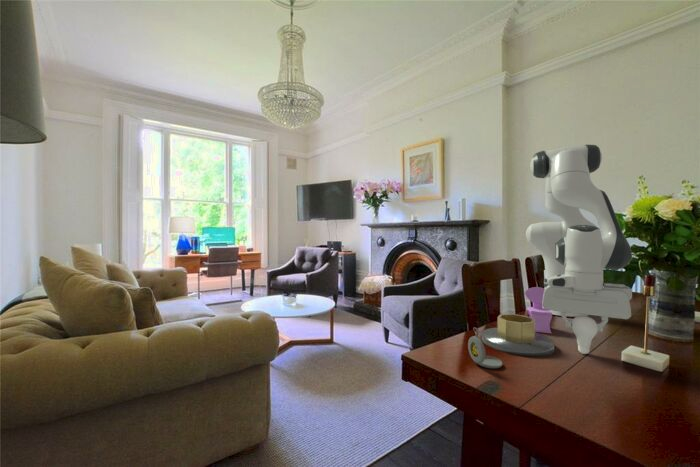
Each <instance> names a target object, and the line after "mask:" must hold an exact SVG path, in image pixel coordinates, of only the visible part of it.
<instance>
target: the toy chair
mask: <svg viewBox="0 0 700 467" xmlns="http://www.w3.org/2000/svg"><path fill="white" fill-rule="evenodd" d="M544 288H545V287H544ZM544 288H543V287H540V286H534V287H530V288H528V289H526V290H525V291H524V296H525V298H527V300H529V301H530V302H531V303H532V306H527V307H526V308H527V309H526V310H527V311H526V312H527V313H528V317H530V318H533V319H535V333H544V334H552V331H551V328H550V327H551V326H550V324H551V321H552V318H553V314H552V312H551V311H549V310H546V309H544V308H542V301H543V294H544V290H545V289H544Z"/></svg>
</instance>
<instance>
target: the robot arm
mask: <svg viewBox="0 0 700 467" xmlns="http://www.w3.org/2000/svg"><path fill="white" fill-rule="evenodd" d="M602 160H603V155H602V152H601V149H600V147H599V146H598V145H597V144H585V145H569V146H564V147H559V148H553V149H549V150H541V151H539V152H536V153H534V155H533V156H532V158H531V161H530V164H529V166H530V167H529V168H530V172H531V173H532V175H533V176H534V177H535V178H538V179H545V185H544V186H545V187H544V188H545V189H544V190H545V192H544V193H545V196H544V197H545V198H544V201H545V202H544V204H545V209H546V210H547V212H549V213H550V214H553V215H555V216H558V217H560V218H561V219H562V221H541V222H535V223H531V224H530V225H529V226H528V227H527V228H526V231H525V239H526V240H527V242H528V243H529V244H530V245H531V246H533V247H534V248H535V249H536V250H537V251H538V253H540V255H541V256H542V259H543V262H544V264H543V265H544V274H545V275H544V278H543V286H544V289H545V290H544V294H543V301H542V308H544V309H546V310H549V311H551V312H552V316H553V315H555V316H560V317H562V319H563V321H564V322H565V324H564V325H565V326H564V327H565V328H570V329H572V326H571V323H572V320H569V319H568V318H567V317H570V318H571V317H572V318H573V317H574V318H575V317H577V316H588V317H589V316H595V317H596V316H597V317H598V316H599V317H600V319H601V322H600V323H599V324H598V323H597V328H598V331H597V333H603V332H604V327H605V325H606V324H607V323H608V322H609V318H611V319H612V318H613V319H621V320H628V319H630V318H631V317H632V308H631V304H630V301H631V300H632V299H633V291H632V289H631V287H629V286H627V285H626V284H624V283H623V284H622V283H611V282H604V270H611V271H618V270H621V269H624V267H626V266H627V265H629V264H630V263H631V261H632V259H633V258H632V257H633V256H632V253H633V252H632V249H631V248H632V247H631V245H630V243H629V241H628V240H627V238H626V236H625V235H624V233H623V232H624V231H623V230H622V228H621V226H620V223H619V221H618V218H617V216H616V213H615V210H614V208H613V205H612V203H611V201H610V199H609V197H608V195H607V194H606V192H605V191H603V190H602V189H599V188H598V187H597V186H596V185H595V184H594V183H593V182H592V179H591V175H590V174H592V173H593V172H596V171H597V170H598V169H599V168H600V166H601V163H602ZM580 209H581V210H584V211H586V212H589V213H591V214H592V215H593V216H595V218H596V220H597V224H598V226H599V227H598V226H597V225H595V223H593V222H591V221H590V220H589V219H587V218H586V217H585V216H584V215H583V214H582V212H581V210H580Z"/></svg>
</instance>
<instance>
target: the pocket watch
mask: <svg viewBox="0 0 700 467" xmlns="http://www.w3.org/2000/svg"><path fill="white" fill-rule="evenodd" d="M472 329H473V331H474V333H475V335H474V336H473V335H472V336H471V337H469V339H468V342H467V349H468V352H469V356H470V358H471V359H472V360H473V362H474V363H476V364H477V365H479V366H481V367H483V368H487V369H499V368H501V367H502V366H503V362H502V360H501V359H500V358H497V357H494V356H490V355H486V349H485V348H486V347H485V346H484V342H483V341H482V338H480V337H479V335H480V331H479V329H478V328H477V327H473V328H472Z"/></svg>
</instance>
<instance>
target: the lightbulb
mask: <svg viewBox="0 0 700 467" xmlns="http://www.w3.org/2000/svg"><path fill="white" fill-rule="evenodd" d="M597 324H598V323H597V322H596V320H595V319H594V318H592V317H590V316H589V315H588V316H575V317H574V318H573V319H572V320H571V329H572V331H573V333H574V334H575V337H576V343H577V350H578V352H580V353H581V354H583V355H587V354H590V347H591V346H592V341H593V339H594V337H595V336H596V335H597V334H598V332H597V331H598V328H597Z"/></svg>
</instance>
